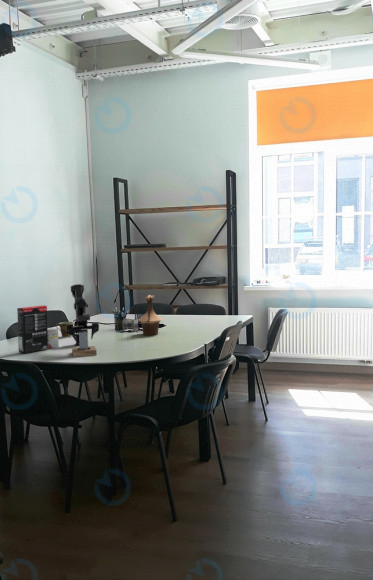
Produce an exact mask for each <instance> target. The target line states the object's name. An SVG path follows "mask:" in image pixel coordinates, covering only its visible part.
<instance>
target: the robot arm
mask: <svg viewBox="0 0 373 580" xmlns="http://www.w3.org/2000/svg"><path fill="white" fill-rule="evenodd" d="M84 292H85V285H83V284H81V283H79V284H72V285H71V286H70V293H71V296H72V297H73V298H74V303H73V309H74V310H75V311H74V312H75V321H74V326H73V324H68V325H66V333H67V334H69V335H71V336H72V337H71V338H73V340H74V341H75V343H74V346H80V340H79V331H87V333H88V330H91V335H90V338H91V340H93V338H94V335H95V334H97V333H98V332H99V331H100V323H99V322H92V323H91V325H88V321H91V316H90V315H91V314H87V309H88V307H89V304H88V303H87V302H86V299H85V298H84V297H83V295H84ZM88 334H89V333H88Z"/></svg>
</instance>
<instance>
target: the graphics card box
mask: <svg viewBox="0 0 373 580" xmlns="http://www.w3.org/2000/svg"><path fill="white" fill-rule="evenodd" d="M16 313H17V334H18V335H17V339H18V340H17V341H18V353H21V354H29V353H34V352H41V351H47V350H49V348H48V331H47V328H48V306H47V305H44V304H43V305H35V306H25V307H24V306H23V307H18V308H17V312H16Z"/></svg>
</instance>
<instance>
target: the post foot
mask: <svg viewBox="0 0 373 580" xmlns="http://www.w3.org/2000/svg"><path fill="white" fill-rule="evenodd" d="M71 353H72V357H73V358H77V357H78V356H80V357H89V356H90V357H92V355H93V356H97V355H98V354H97V349H96V347H95V345H91V346H90V345H88V350H80V346H77V347H72V348H71Z"/></svg>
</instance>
